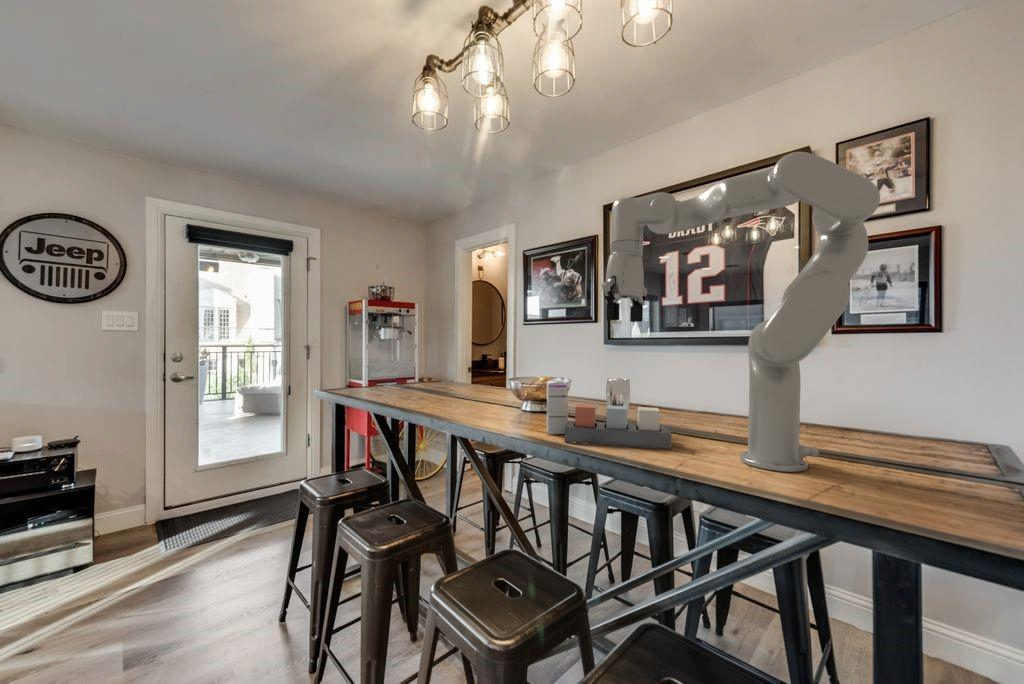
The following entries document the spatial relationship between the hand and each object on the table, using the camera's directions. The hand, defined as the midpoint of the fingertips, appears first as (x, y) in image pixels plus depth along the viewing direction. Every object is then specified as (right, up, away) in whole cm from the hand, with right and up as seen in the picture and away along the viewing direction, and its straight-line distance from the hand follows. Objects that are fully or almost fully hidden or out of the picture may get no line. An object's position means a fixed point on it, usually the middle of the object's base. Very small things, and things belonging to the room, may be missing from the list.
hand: (624, 320), depth 105 cm
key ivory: (+7, -27, +5) cm, 29 cm away
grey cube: (0, -27, +7) cm, 28 cm away
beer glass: (+3, -31, +21) cm, 38 cm away
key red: (-8, -27, +9) cm, 30 cm away
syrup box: (-15, -31, +17) cm, 38 cm away
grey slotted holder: (0, -31, +7) cm, 32 cm away
